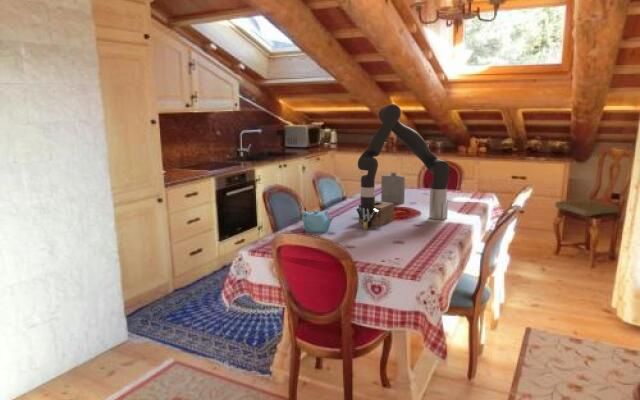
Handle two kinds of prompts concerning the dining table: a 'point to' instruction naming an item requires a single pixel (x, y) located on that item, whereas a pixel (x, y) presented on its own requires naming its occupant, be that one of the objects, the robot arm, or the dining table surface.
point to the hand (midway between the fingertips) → (367, 227)
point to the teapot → (316, 221)
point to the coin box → (382, 213)
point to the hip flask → (393, 188)
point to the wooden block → (366, 225)
